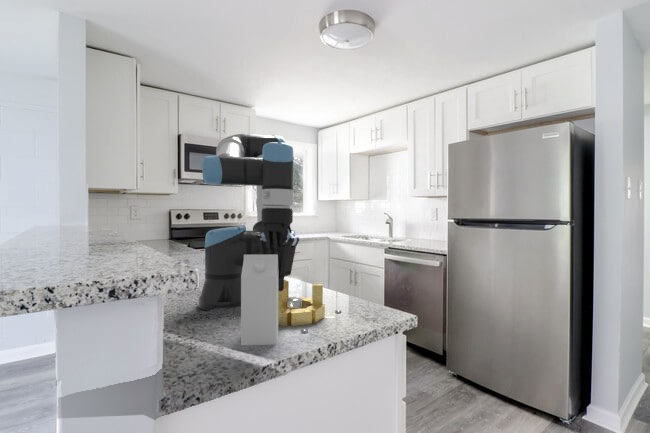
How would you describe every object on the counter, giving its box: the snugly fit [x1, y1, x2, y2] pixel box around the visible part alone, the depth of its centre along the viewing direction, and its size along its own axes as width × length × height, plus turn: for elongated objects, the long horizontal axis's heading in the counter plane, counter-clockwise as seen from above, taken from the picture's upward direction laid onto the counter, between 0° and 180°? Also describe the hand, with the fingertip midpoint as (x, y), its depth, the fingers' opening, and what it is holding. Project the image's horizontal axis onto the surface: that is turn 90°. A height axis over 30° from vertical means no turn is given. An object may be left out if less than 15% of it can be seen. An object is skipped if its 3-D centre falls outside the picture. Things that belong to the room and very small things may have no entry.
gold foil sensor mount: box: [278, 279, 326, 327], centre depth 88 cm, size 15×15×8 cm
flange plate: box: [287, 296, 342, 334], centre depth 88 cm, size 20×20×6 cm
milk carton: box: [240, 255, 279, 346], centre depth 72 cm, size 7×7×19 cm
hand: (276, 303), depth 84 cm, fingers closed
